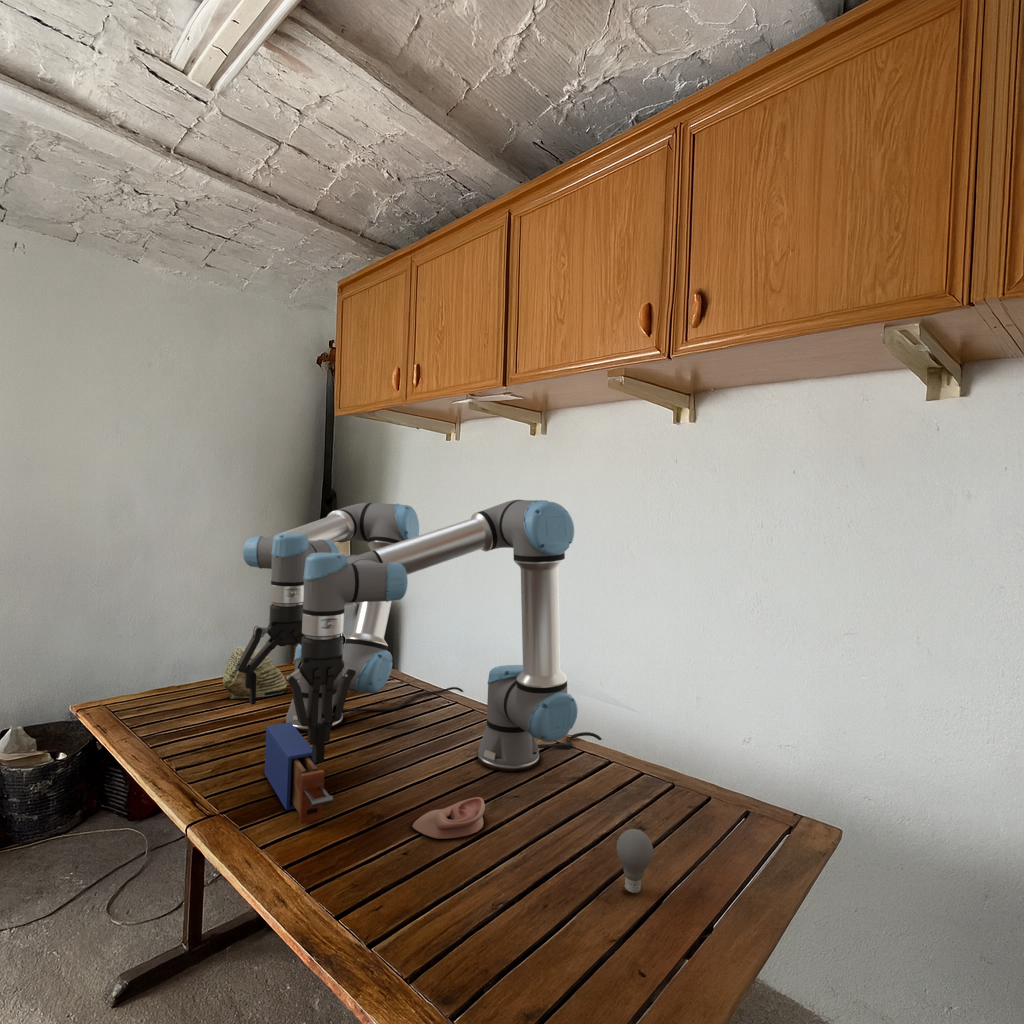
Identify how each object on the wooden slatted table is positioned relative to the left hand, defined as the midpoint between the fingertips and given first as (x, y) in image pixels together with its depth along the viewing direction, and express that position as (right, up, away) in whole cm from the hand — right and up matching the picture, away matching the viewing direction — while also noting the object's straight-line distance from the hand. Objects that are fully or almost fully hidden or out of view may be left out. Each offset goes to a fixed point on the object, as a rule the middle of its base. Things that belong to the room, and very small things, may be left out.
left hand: (284, 698), depth 141 cm
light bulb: (+71, -22, -35) cm, 82 cm away
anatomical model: (+38, -20, -16) cm, 46 cm away
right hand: (+14, -5, -21) cm, 26 cm away
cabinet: (+2, -18, -4) cm, 19 cm away
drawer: (+9, -18, -14) cm, 24 cm away
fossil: (-30, -16, +57) cm, 67 cm away
